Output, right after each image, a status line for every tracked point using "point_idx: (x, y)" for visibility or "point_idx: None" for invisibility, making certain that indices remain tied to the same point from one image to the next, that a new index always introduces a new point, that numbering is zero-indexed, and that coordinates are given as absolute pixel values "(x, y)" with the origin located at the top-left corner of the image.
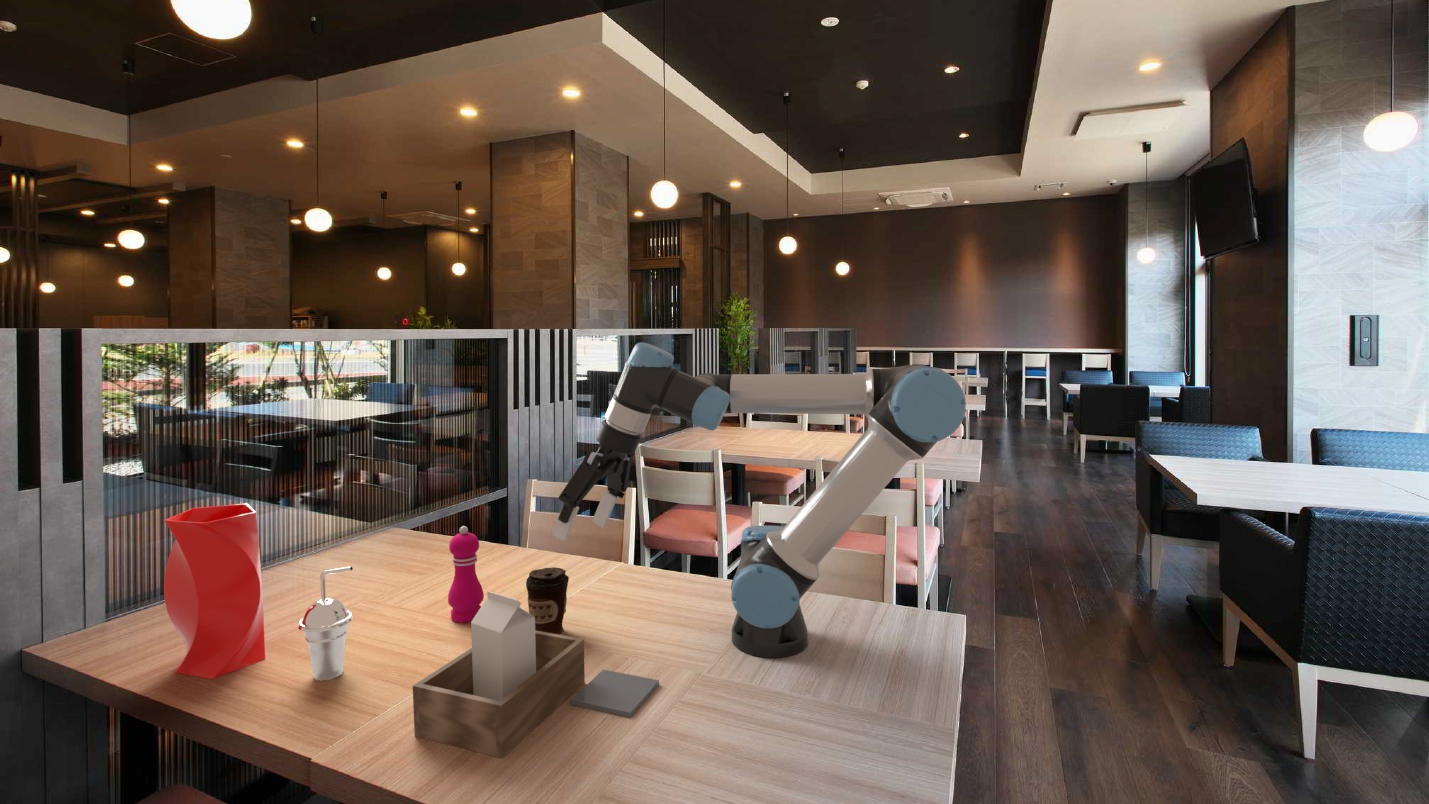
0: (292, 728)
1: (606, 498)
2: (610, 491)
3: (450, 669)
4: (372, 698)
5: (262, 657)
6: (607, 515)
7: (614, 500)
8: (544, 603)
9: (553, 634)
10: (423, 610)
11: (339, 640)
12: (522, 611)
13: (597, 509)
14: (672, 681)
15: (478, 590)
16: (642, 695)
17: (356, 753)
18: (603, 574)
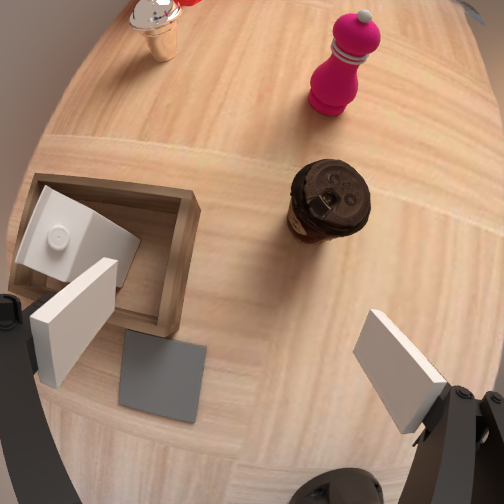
0: (79, 91)
1: (411, 387)
2: (440, 405)
3: (72, 185)
4: (121, 111)
5: (190, 3)
6: (371, 378)
7: (397, 425)
8: (292, 213)
9: (171, 281)
10: (326, 56)
11: (152, 38)
12: (45, 264)
13: (391, 336)
14: (207, 433)
15: (337, 93)
16: (155, 410)
17: (43, 161)
18: (488, 228)
